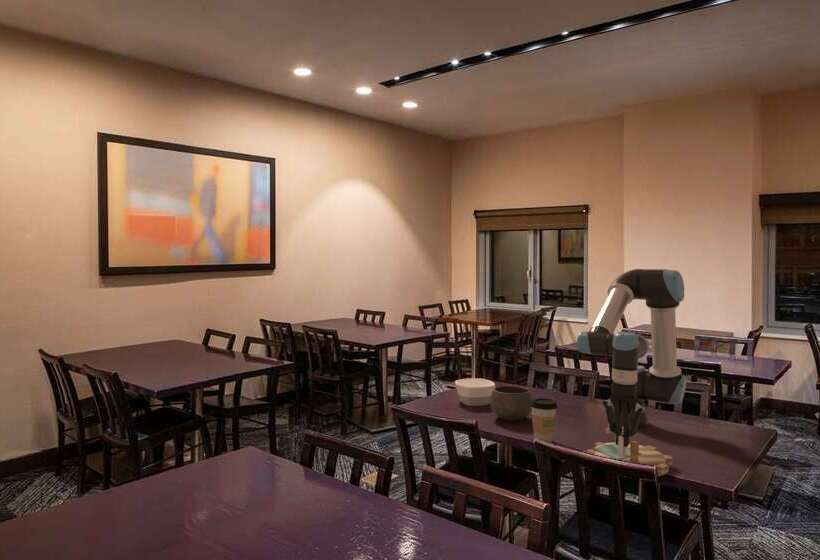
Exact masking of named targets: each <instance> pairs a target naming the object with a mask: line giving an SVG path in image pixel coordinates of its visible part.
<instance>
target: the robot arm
mask: <svg viewBox="0 0 820 560" xmlns="http://www.w3.org/2000/svg"><path fill="white" fill-rule="evenodd" d="M684 299H685V283H684V279H683V276H682V274H681V273H680V271H678V270H674V269H672V270H671V269H666V268H665V269H658V268H657V269H655V268H653V269H651V268H650V269H649V268H644V269H643V268H635V269H631V270H629V271H626V272H624V273H622V274H621V275H619V276H618V277H617V278H615V279H614V280H613V281H612V282H611V284H610V285H609V287H608V290H607V296H606V299H605V300H604V302H603V303H602V306H601V309H600V310H599V312H598V314H597V316H596V318H595V320H594V321H593V324H592V325H591V327H590V329H589V331H587V330H585V331H581V332H579V333H578V335H577V339H576V347H577V350H578V351H579V352H580V353H581V354H588V355H594V356H605V357H611V358H612V364H611V365H612V368H611V380H612V381H611V387H610V388H611V389H610V392H611V394H610V396H609V398H608V399H605V400H603V401H602V405H603V406H604V408H605V412H606V417H607V424H609V428H610V431H611V432H613V433H612V434H616V445H618V456H619V457H624V456H625V455H626V447H628V446H629V443H630V437H633V436H635V435H637V434H636V433H637V430H638V429H641V428H646V427H648V426H649V417H648V414H647V411H646V407H645V401H647V402H648V401H649V402H657V403H662V404H667V405H670V404H671V405H679V404H681V403H682V402H683V400H684V396H685V392H686V388H687V381H688V380H687V376H686V375H684V374H682V369H681V368H680V367H679V366H678V362H677V360H678V359H677V358H678V355H677V323H676V319H677V318H676V309H677V308H678V307H679V306H680V302H681V303H682V302H683V301H684ZM634 300H645V306H646V307H647V308H649V309H650V328H651V331H650V332H651V349H652V350H651V352H652V366H650V367H649V368H648V370H647V369H646V367H645V366H643V365H638V364H639V359H641V358H643V357H645V356H646V354H647V353H649V352H648V351H649V350H650V349H649V348H650V344H649V341H648V340H647V339H646V338H645V337H644V336H643V335H640V334H637V333H636V332H635V333H634V332H625V331H620V332H619V331H618V332H615V330H616V328H617V327H618V324H619V322H620V320H621V318H622V316H623V314H624V313H625V310H626V309H627V308H626V307H628V305H629V304H631V303H632V302H633V301H634ZM622 427H623V432H622ZM630 427H631V429H630ZM621 433H623V434H621Z"/></svg>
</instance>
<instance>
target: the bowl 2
mask: <svg viewBox="0 0 820 560" xmlns="http://www.w3.org/2000/svg"><path fill="white" fill-rule="evenodd" d="M533 399H534V397H533V393H532V392H531V390H530V389H529V388H525V387H523V386H517V385H500V386H495V388H494V390H493V391H492V394H491V398H490V403H489V405H490V409H491V411H492V412H493V413H494V415H495V416H497V417H498V418H500V419H502V420H504V421H509V422H511V421H512V422H515V421H520V420H523V419H525V418H527V417H528V416H529V415H530V414H532V407H531V406H530V404H531V402H532V400H533Z"/></svg>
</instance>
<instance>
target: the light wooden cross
mask: <svg viewBox="0 0 820 560" xmlns="http://www.w3.org/2000/svg"><path fill="white" fill-rule="evenodd" d="M630 429H631V427H630ZM604 432H605V434H615V433H613V432H611V431H610V428H609V423H607V427H606V428H604ZM622 432H623V427H622ZM621 434H623V433H621ZM614 437H615V438H614V440H615V442H614V443H616V434H615V435H614Z"/></svg>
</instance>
